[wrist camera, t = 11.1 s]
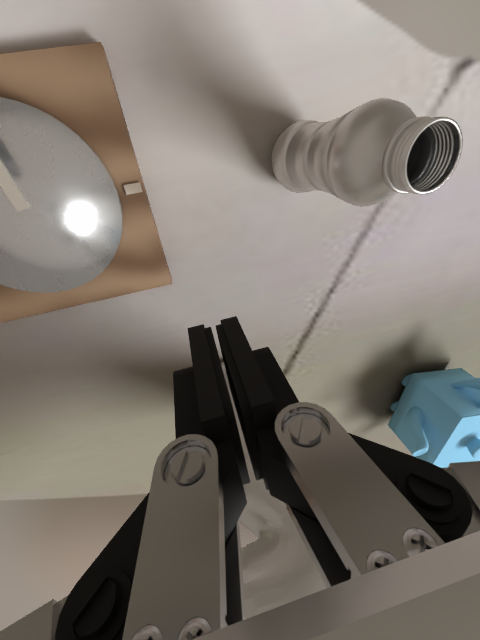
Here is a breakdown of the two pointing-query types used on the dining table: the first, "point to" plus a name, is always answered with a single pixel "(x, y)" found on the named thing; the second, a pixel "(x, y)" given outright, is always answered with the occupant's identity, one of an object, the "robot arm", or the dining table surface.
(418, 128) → the plastic bottle
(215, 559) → the robot arm
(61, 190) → the dial
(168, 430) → the dining table surface
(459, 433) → the teakettle
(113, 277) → the dial base
